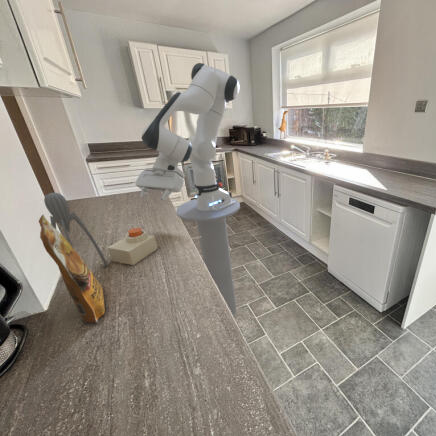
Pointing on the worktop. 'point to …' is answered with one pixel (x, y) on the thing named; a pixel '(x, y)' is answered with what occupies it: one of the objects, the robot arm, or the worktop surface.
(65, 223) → the citrus juicer
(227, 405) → the worktop surface
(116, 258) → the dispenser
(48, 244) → the pancake mix bag
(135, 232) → the nozzle
